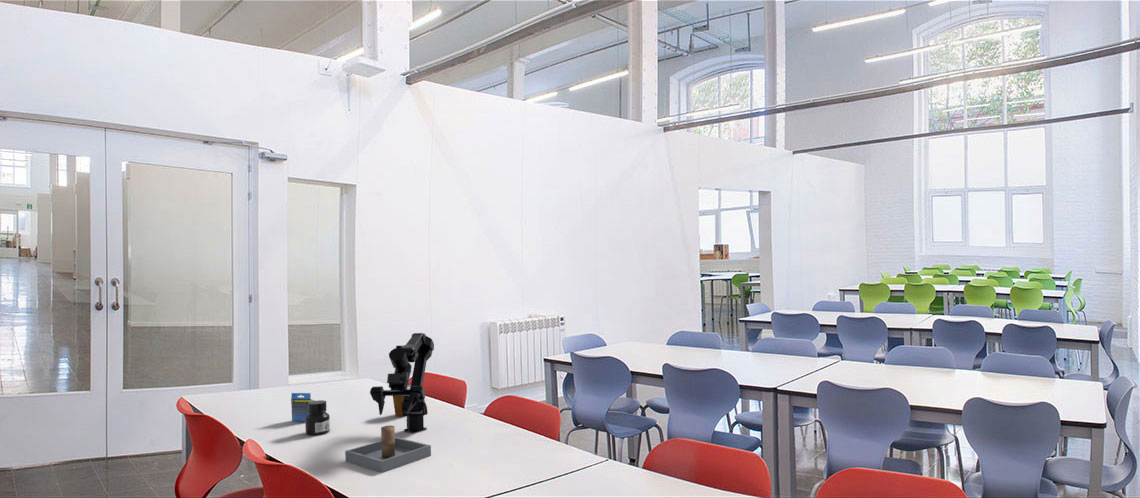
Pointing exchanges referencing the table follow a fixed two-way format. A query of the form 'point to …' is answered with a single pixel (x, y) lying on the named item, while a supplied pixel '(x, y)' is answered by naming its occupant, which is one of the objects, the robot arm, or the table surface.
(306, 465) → the table surface
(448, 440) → the table surface
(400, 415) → the disposable coffee cup
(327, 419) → the ink bottle
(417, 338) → the robot arm
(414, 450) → the tray
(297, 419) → the label tape box
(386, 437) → the post
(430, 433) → the table surface
